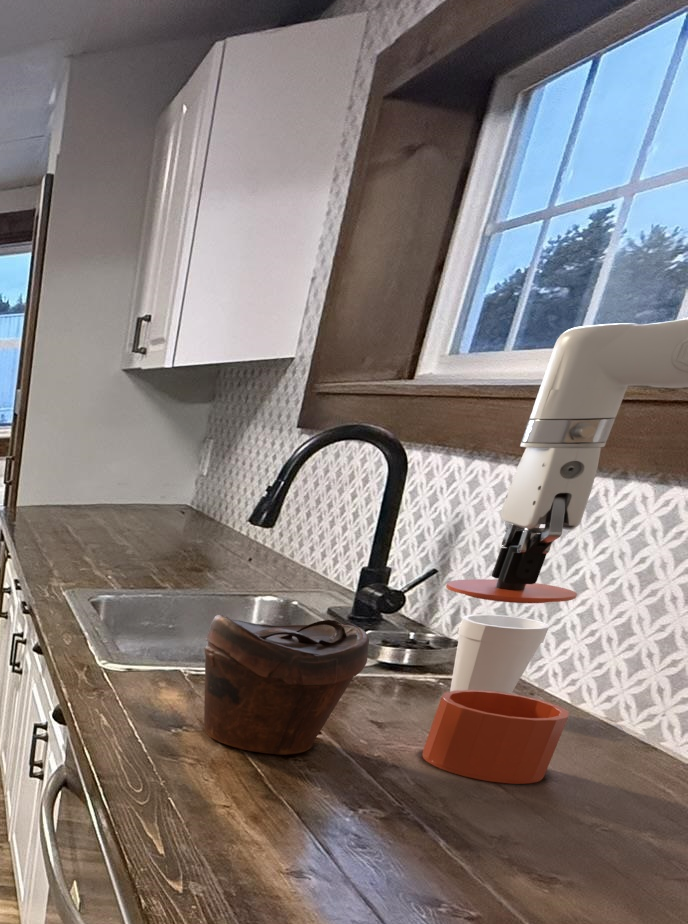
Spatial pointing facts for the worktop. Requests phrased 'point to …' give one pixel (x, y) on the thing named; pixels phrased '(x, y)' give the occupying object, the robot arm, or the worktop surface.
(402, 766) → the worktop surface
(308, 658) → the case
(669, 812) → the worktop surface
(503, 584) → the pot lid
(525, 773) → the pot
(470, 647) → the foam cup
